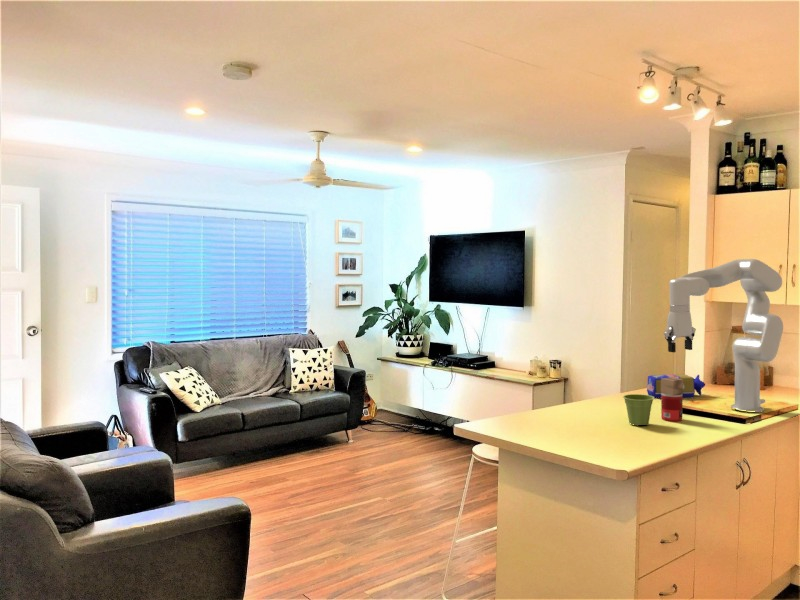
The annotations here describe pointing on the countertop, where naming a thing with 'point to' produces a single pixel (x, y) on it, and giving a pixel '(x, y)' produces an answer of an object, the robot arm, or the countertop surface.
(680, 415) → the canned food
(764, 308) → the robot arm
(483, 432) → the countertop surface
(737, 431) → the countertop surface
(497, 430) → the countertop surface
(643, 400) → the plant pot
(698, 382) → the bread
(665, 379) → the walnut block
